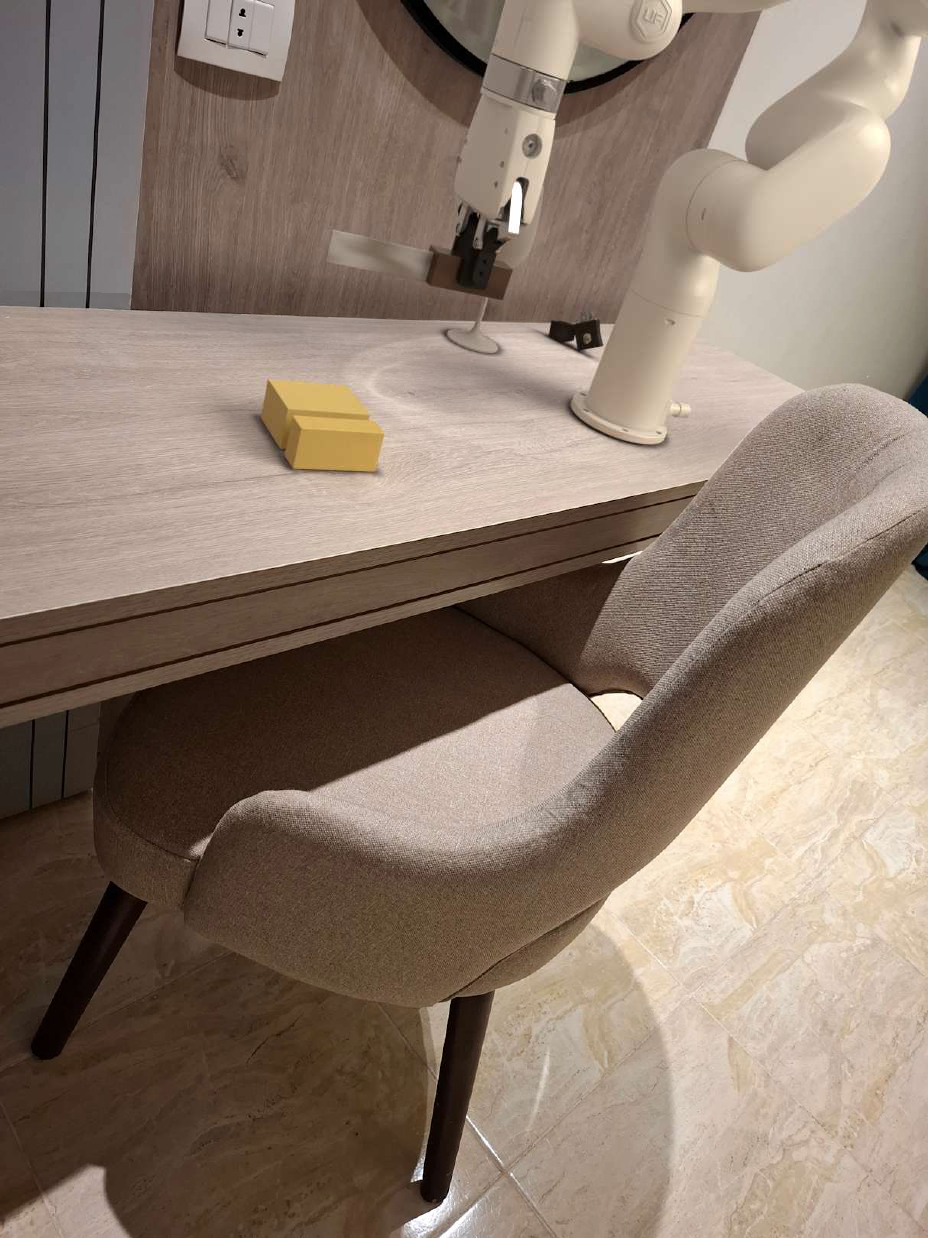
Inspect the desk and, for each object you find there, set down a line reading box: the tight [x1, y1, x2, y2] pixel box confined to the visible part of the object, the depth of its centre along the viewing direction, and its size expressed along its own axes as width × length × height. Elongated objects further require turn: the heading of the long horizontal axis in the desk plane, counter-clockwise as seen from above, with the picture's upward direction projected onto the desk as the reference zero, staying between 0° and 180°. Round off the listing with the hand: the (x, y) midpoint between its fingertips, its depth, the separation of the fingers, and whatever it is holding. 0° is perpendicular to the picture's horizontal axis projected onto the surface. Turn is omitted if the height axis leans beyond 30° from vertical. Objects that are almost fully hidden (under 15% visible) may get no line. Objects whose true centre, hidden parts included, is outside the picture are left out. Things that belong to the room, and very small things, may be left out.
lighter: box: [548, 311, 604, 352], centre depth 134 cm, size 8×2×5 cm
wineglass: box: [446, 185, 545, 354], centre depth 118 cm, size 8×8×21 cm
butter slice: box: [284, 415, 386, 473], centre depth 81 cm, size 8×2×4 cm, turn 117°
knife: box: [324, 229, 514, 301], centre depth 92 cm, size 20×2×3 cm, turn 115°
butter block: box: [260, 378, 371, 450], centre depth 84 cm, size 8×6×4 cm
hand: (465, 280), depth 95 cm, fingers closed on knife, 2 cm apart
